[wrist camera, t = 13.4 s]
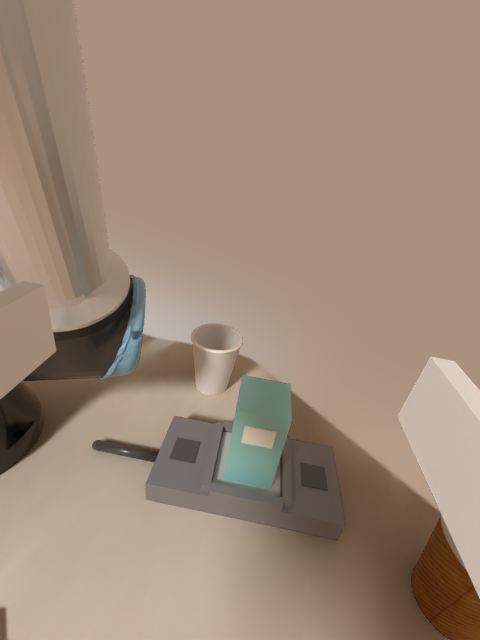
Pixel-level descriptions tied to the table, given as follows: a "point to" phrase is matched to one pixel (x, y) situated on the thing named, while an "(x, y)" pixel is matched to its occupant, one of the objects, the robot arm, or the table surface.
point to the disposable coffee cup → (446, 588)
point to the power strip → (236, 498)
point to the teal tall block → (258, 431)
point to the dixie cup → (214, 356)
